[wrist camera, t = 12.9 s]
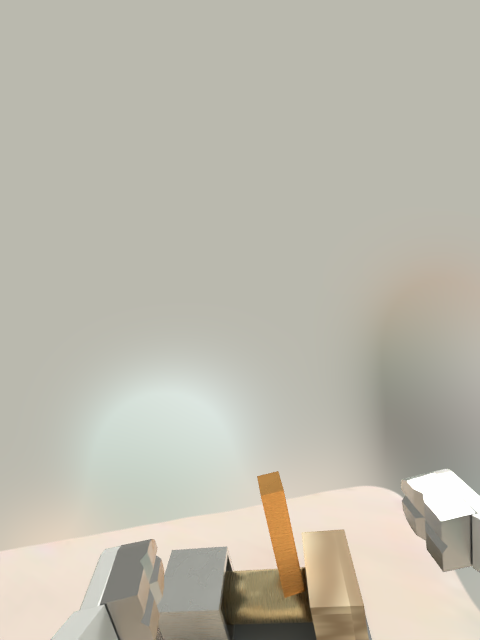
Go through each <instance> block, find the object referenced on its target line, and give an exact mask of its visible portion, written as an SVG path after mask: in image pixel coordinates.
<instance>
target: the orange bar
mask: <svg viewBox="0 0 480 640" xmlns="http://www.w3.org/2000/svg"><path fill="white" fill-rule="evenodd" d="M257 478H258V483H259V488H260V494H261V499H262V503H263V507H264V511H265V516H266V520H267V524H268V529H269V533H270V537H271V541H272V546H273V550H274V554H275V559H276V563H277V567H278V569H263V570H245V571H227V572H225V580H224V588H223V595H222V603H221V611H222V614H223V617H224V620H225V624H226V625H237V624H272V623H307V622H313V619H312V614H311V609H310V602H309V593H308V585H307V576H306V567H300V566H299V561H298V557H297V552H296V547H295V542H294V537H293V533H292V528H291V523H290V518H289V514H288V509H287V504H286V499H285V494H284V490H283V486H282V483H281V480H280V476H279V472H278V471H277V472H273V473H269V474H265V475H261V476H257Z"/></svg>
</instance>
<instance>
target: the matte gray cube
mask: <svg viewBox="0 0 480 640" xmlns="http://www.w3.org/2000/svg"><path fill="white" fill-rule="evenodd" d="M227 571H234V569H233V565H232V562H231V558H230V555H229V551H228V548H227V547H214V548H199V549H184V550H172V553H171V556H170V559H169V562H168V566H167V569H166V572H165V575H164V591H163V597H162V599H161V601H160V602H159V604H158V605H157V608H158V611H159V614H160V618H159V624H158V626H159V629H160V632H161V634H162V637H163V639H164V640H234V632H235V625H226V624H225V620H224V617H223V614H222V611H221V603H222V595H223V588H224V580H225V572H227Z"/></svg>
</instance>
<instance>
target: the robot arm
mask: <svg viewBox="0 0 480 640" xmlns="http://www.w3.org/2000/svg"><path fill="white" fill-rule="evenodd" d="M401 490H402V491H403V493H404V494H405V497H404V499H403V500H402V504H403V511H404V513H405V516H406V519H407V521H408V523H409V525H410V526H411V528H412V529H413V531H414V532H415V534H416V535H417V536H419V537H421V538H422V539H424V540H426V546H427V550H428V552H429V553H430V554H431V556H432V557H433V558H434V560H435V561H436V562H437V564H438V565H439V567H440V568H441V569H442V571H443V572H446V571H451V570H456V569H460V568H465V567H470V566H473V568H474V569H475V570H477V571H478V572H480V496H479V495H478V494H476V493H475V492H474V491H473V490H472V489H471V488H470V487H469V486H468V485H466V484H465V483H464V482H463V481H462V480H461V479H460V478H459V477H458V476H456V475H455V474H454V473H453V472H452V471H451V470H449V469H443V470H439V471H435V472H431V473H426V474H423V475H418V476H414V477H410V478H407V479H403V480H402V481H401ZM156 553H157V545H156V542H155V540H154V539H150V540H145V541H140V542H136V543H131V544H126V545H121V546H118V547H113V548H108V549H105V550H104V551H103V553H102V554H101V556H100V558H99V561H98V563H97V566H96V569H95V571H94V574H93V576H92V579H91V582H90V584H89V587H88V589H87V592H86V595H85V597H84V600H83V602H82V605H81V608H80V610H79V611H75V612H74V613H73V614H72V615H71V616H70V617H69V619H68V620H67V621H66V622H65V623H64V624H63V626H62V627H61V628H60V629H59V630H58V631H57V633H56V634H55V635H54V636H53V637H52V638H51V640H156V637H157V630H158V624H159V618H160V614H159V611H158V608H157V605H158V604H159V602H160V601H161V599H162V597H163V591H164V568H163V564H162V560H161V558H159V557H158V556H156Z"/></svg>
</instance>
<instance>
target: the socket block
mask: <svg viewBox="0 0 480 640" xmlns="http://www.w3.org/2000/svg"><path fill="white" fill-rule="evenodd" d="M302 541H303V550H304V558H305V567H306V576H307V585H308V593H309V602H310V609H311V614H312V619H313V624H314V629H315V633H316V638H317V640H369V637H368V630H367V624H366V617H365V610H364V604H363V600H362V596H361V593H360V589H359V585H358V581H357V577H356V574H355V570H354V566H353V562H352V558H351V554H350V551H349V547H348V543H347V539H346V535H345V532H344V530H331V531H317V532H303V533H302Z"/></svg>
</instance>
